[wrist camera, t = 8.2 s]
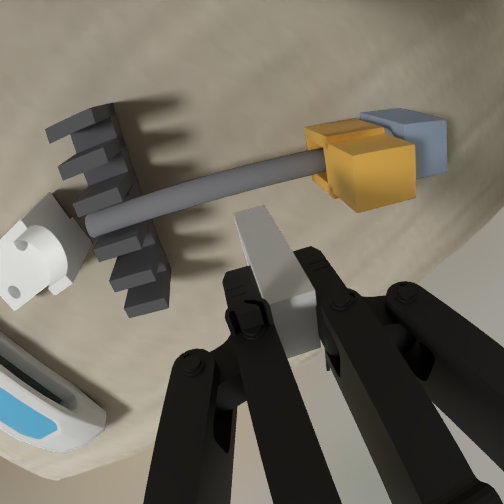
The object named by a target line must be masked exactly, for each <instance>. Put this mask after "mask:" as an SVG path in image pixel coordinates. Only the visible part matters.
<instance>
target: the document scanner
mask: <svg viewBox="0 0 504 504" xmlns="http://www.w3.org/2000/svg"><path fill="white" fill-rule="evenodd" d="M0 355H1V356H2V357H3V358H5V359H6V360H7V361H9V362H10V363H12V364H13V365H14V366H16V367H17V368H18V369H20V370H21V371H23V372H24V373H25V374H27V375H28V376H30V377H31V378H32V379H34V380H35V381H37V382H38V383H40V384H41V385H42V386H44V387H45V388H46V389H48V390H49V391H50V392H52V393H53V394H54V395H56V396H57V397H59V398H60V399H61V400H62V401H61V403H60V404H58V403H56V402H54V401H52V400H51V399H49V398H47V397H46V396H44V395H42V394H41V393H39V392H38V391H36V390H35V389H33V388H32V387H30V386H29V385H27V384H26V383H24V382H23V381H22V380H20V379H19V378H17V377H16V376H15V375H13V374H12V373H11V372H10V371H8V370H7V369H6V368H5V367H3V366H2V365H1V364H0V429H1V430H2V431H4V432H6V433H7V434H9V435H10V436H12V437H14V438H15V439H17V440H20V441H22V442H25V443H28V444H30V445H33V446H36V447H39V448H42V449H45V450H48V451H51V452H60V453H67V452H69V451H72V450H74V449H77V448H79V447H82V446H84V445H86V444H88V443H89V442H90V441H91V440H93V439H94V438H95V437H96V436H97V435H99V434H100V433H101V432H102V431H103V430H105V424H106V415H107V414H106V412H105V411H104V410H103V409H102V408H101V407H99V406H98V405H97V404H96V403H95V402H93V401H92V400H91V399H90V398H89V397H87V396H86V395H85V394H84V393H83V392H82V391H80V390H79V389H78V388H77V387H76V386H75V385H73V384H72V383H70V382H69V381H67V380H66V379H64V378H63V377H61V376H60V375H58V374H57V373H55V372H54V371H52V370H51V369H49V368H48V367H46V366H45V365H44V364H42V363H41V362H39V361H38V360H37V359H35V358H34V357H33V356H31V355H30V354H29V353H27V352H26V351H25V350H23V349H22V348H21V347H20V346H18V345H17V344H16V343H14V342H13V341H12V340H11V339H10V338H8V337H7V336H6V335H5V334H3V333H2V332H1V331H0Z"/></svg>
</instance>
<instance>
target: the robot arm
mask: <svg viewBox="0 0 504 504" xmlns="http://www.w3.org/2000/svg"><path fill="white" fill-rule="evenodd" d="M233 215H234V218H235V222H236V226H237V229H238V233H239V237H240V240H241V244H242V248H243V251H244V255H245V259H246V262H247V265H248V266H246V267H242V268H239V269H235V270H232V271H229V272H226V273H225V276H224V279H223V281H222V282H223V287H224V291H225V296H226V301H227V306H228V309H227V310H226V312H225V319H226V322H227V324H228V327H229V330H230V332H231V335H230V336H229V338H228V340H227V341H226V342H225V343H224V344H222V345H221V346H219V347H218V348H216V349H215V350H213V351H211V352H208V351H206V350H204V349H192V350H188V351H186V352H185V353H183V354H181V355H180V356H179V357H178V358H177V359H176V360H175V362H174V365H173V367H172V371H171V375H170V379H169V383H168V387H167V392H166V396H165V400H164V405H163V409H162V414H161V418H160V423H159V427H158V432H157V436H156V441H155V446H154V451H153V456H152V461H151V465H150V471H149V477H148V481H147V486H146V492H145V497H144V503H143V504H230V500H231V486H232V473H233V459H234V444H235V432H236V418H237V406H238V405H240V404H242V403H243V402H245V401H247V403H248V407H249V411H250V415H251V419H252V423H253V427H254V432H255V435H256V439H257V443H258V447H259V451H260V455H261V459H262V462H263V467H264V470H265V474H266V478H267V482H268V485H269V489H270V493H271V496H272V500H273V504H342V503H341V500H340V497H339V495H338V492H337V490H336V487H335V484H334V482H333V479H332V476H331V474H330V471H329V469H328V466H327V463H326V461H325V458H324V455H323V453H322V450H321V447H320V445H319V442H318V439H317V437H316V434H315V431H314V429H313V426H312V423H311V421H310V418H309V415H308V413H307V410H306V407H305V405H304V402H303V400H302V397H301V394H300V391H299V389H298V386H297V383H296V381H295V378H294V376H293V373H292V370H291V367H290V365H289V362H288V359H287V358H290V357H293V356H296V355H299V354H302V353H305V352H308V351H311V350H314V349H317V348H320V347H321V343H320V339H321V341H322V343H323V345H324V347H325V358H326V368H327V371H329V370H330V368H331V370H332V372H333V374H334V377H335V378H336V380H337V383H338V385H339V387H340V389H341V391H342V394H343V396H344V398H345V400H346V402H347V404H348V406H349V409H350V411H351V413H352V415H353V417H354V419H355V422H356V424H357V426H358V428H359V430H360V433H361V435H362V437H363V439H364V442H365V444H366V446H367V448H368V450H369V453H370V455H371V457H372V459H373V462H374V464H375V466H376V468H377V470H378V473H379V475H380V477H381V479H382V482H383V484H384V486H385V488H386V491H387V493H388V495H389V498H390V500H391V502H392V504H503V503H502V501H501V499H500V497H499V495H498V494H497V492H496V491H495V489H494V488H493V487H491V486H490V485H489V484H487V483H484V482H481V481H479V480H478V479H477V478H476V477H475V475H474V474H473V472H472V470H471V468H470V466H469V465H468V463H467V461H466V459H465V457H464V456H463V454H462V452H461V450H460V448H459V447H458V445H457V443H456V441H455V440H454V438H453V436H452V435H451V433H450V431H449V429H448V428H447V426H446V424H445V423H444V421H443V419H442V418H441V416H440V414H439V413H438V411H437V410H436V408H435V406H434V405H433V403H434V404H435V405H436V406H437V407H438V408H439V409H440V410H441V411H442V412H443V413H445V415H447V416H448V417H449V418H450V419H451V420H452V421H453V422H454V423H455V424H456V425H457V426H458V427H459V428H460V429H461V430H462V431H463V432H464V433H465V434H466V435H467V436H468V437H469V438H470V439H471V440H472V441H474V443H475V444H476V445H477V446H479V448H481V450H483V452H485V453H486V454H487V455H488V456H489V457H490V458H491V459H492V460H493V461H494V462H495V463H496V464H497V465H498V466H499V467H500V468H501V469H502V470H503V471H504V348H503V347H502V346H501V345H500V344H498V343H497V342H496V341H494V340H493V339H492V338H490V337H489V336H488V335H487V334H485V333H484V332H483V331H481V330H480V329H479V328H477V327H476V326H475V325H473V324H472V323H471V322H469V321H468V320H467V319H465V318H464V317H463V316H461V315H460V314H459V313H457V312H456V311H454V310H453V309H452V308H450V307H449V306H448V305H446V304H445V303H443V302H442V301H440V300H439V299H438V298H436V297H435V296H434V295H432V294H431V293H429V292H428V291H426V290H425V289H424V288H422V287H421V286H419V285H417V284H415V283H413V282H407V281H404V282H398V283H395V284H393V285H391V286H390V287H389V288H388V290H387V293H386V296H376V297H363V296H361V295H360V294H359V293H357V292H356V291H354V290H352V289H349V288H347V287H346V286H345V284H344V283H343V282H342V280H341V279H340V277H339V276H338V274H337V273H336V272H335V270H334V269H333V267H332V266H331V265H330V263H329V262H328V260H326V258H325V256H324V255H323V254H322V252H321V251H320V250H318V249H316V248H314V247H312V246H310V247H306V248H303V249H300V250H296V251H292V250H291V248H290V246H289V245H288V243H287V241H286V240H285V238H284V236H283V235H282V233H281V231H280V230H279V228H278V226H277V225H276V223H275V221H274V220H273V218H272V216H271V215H270V213H269V212H268V210H267V208H266V207H265V205H261V206H258V207H254V208H250V209H247V210H243V211H240V212H236V213H233ZM432 402H433V403H432Z"/></svg>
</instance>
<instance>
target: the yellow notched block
mask: <svg viewBox="0 0 504 504" xmlns="http://www.w3.org/2000/svg"><path fill="white" fill-rule="evenodd" d="M304 130H305V136H306V142H307V148H308V151H309V150H314V149H319V148H323V149H324V156H325V163H326V171H327V172H323V173H318V174H314V175H312V180H313V181H314V182H315V183H316V184H318V185H319V186H320V187H321V188H322V189H323V190H325V191H326V192H327V193H328V194H329V195H330V196H331V197H333V198H334V199H337V198H340V199H341V200H342V201H344V202H345V203H346V204H347V205H348V206H349V207H350V208H352V209H353V210H354V211H355V212H356V213H360V212H364V211H368V210H371V209H375V208H379V207H383V206H386V205H390V204H394V203H398V202H401V201H405V200H409V199H413V198H416V158H415V144H413V143H410V142H407V141H405V140H402V139H399V138H396V137H394V136H391V135H388V134H385V133H384V127H382V126H379V125H375V124H372V123H369V122H365V121H362V120H358V119H349V120H343V121H336V122H330V123H325V124H319V125H314V126H308V127H304Z"/></svg>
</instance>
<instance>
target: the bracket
mask: <svg viewBox="0 0 504 504" xmlns="http://www.w3.org/2000/svg"><path fill="white" fill-rule="evenodd" d="M91 245H92V242H91V240H90V239H89V238H88V237H87V235H86V234H85V233H84V231H83V230H82V229H81V228H80V226H79V225H78V224H77V222H76V221H75V220H74V218H73V217H71V218H69V217H68V216H67V214H66V213H65V212H64V210H63V209H62V208H61V206H60V205H59V204H58V202H57V201H56V199H55V198H54V197H53V195H52V194H51V192H49V193H48V194H47V195H46V196H45V197H44V198H43V199H42V200H40V201H39V202H38V203H37V204H36V205H35V206H34V207H33V208H32V209H31V210H30V211H29V212H27V213H26V214H25V215H24V216H23V217H22V218H21V219H20V220H19V221H18V222H17V223H16V224H15V225H14V226H13V227H12V228H11V229H10V230H9V231H8V232H7V233H6V234H5V235H4V236H3V237H2V238H1V239H0V296H1V297H2V298H3V299H4V300H5V301H6V303H7V304H8V305H9V306H10V307H11V308H12V309H13V310H14V311H16V310H17V309H18V308H20V307H21V306H22V305H23V304H25V303H26V302H27V301H28V300H30V299H31V298H32V297H34V296H35V295H36V294H37V293H39V292H40V291H41V290H43V289H44V288H45V287H47V286H48V285H49V287H48V289H49V290H50V291H51V292H52V293H53V294H54V295H57V294H58V293H59V292H61V291H62V290H64V289H65V288H67V287H68V286H69V285H71V284H72V283H73V282H74V279H75V277H76V275H77V273H78V271H79V269H80V267H81V265H82V263H83V261H84V259H85V257H86V255H87V253H88V251H89V249H90V247H91Z"/></svg>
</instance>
